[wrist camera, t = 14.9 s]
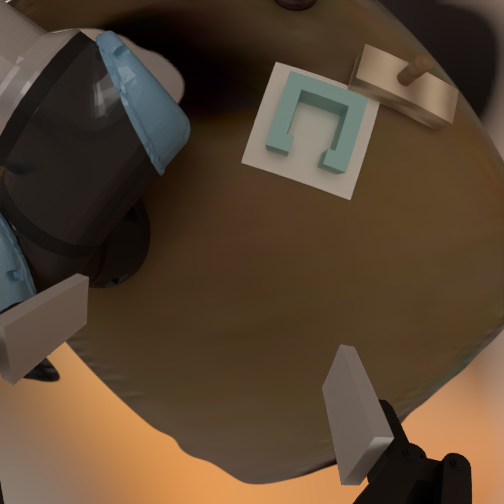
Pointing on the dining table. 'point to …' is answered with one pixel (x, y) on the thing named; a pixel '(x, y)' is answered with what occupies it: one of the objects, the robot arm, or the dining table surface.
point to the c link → (328, 100)
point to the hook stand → (404, 86)
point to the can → (296, 3)
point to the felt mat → (306, 138)
